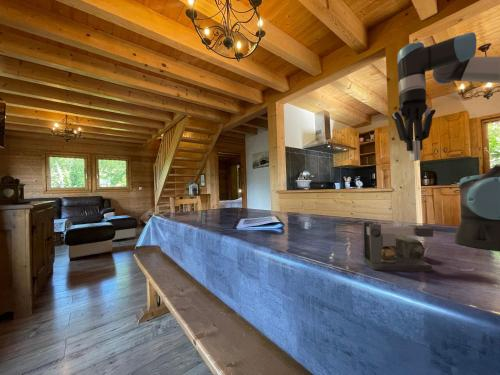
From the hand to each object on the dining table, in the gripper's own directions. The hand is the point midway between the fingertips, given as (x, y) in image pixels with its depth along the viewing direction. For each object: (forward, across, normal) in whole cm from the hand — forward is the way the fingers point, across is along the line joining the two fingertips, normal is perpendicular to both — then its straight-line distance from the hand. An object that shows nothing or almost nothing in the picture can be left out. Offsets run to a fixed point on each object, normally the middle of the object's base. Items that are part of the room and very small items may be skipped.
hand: (415, 160), depth 75 cm
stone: (+30, +12, +10) cm, 33 cm away
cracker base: (+29, +18, +21) cm, 40 cm away
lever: (+24, +17, +21) cm, 36 cm away
